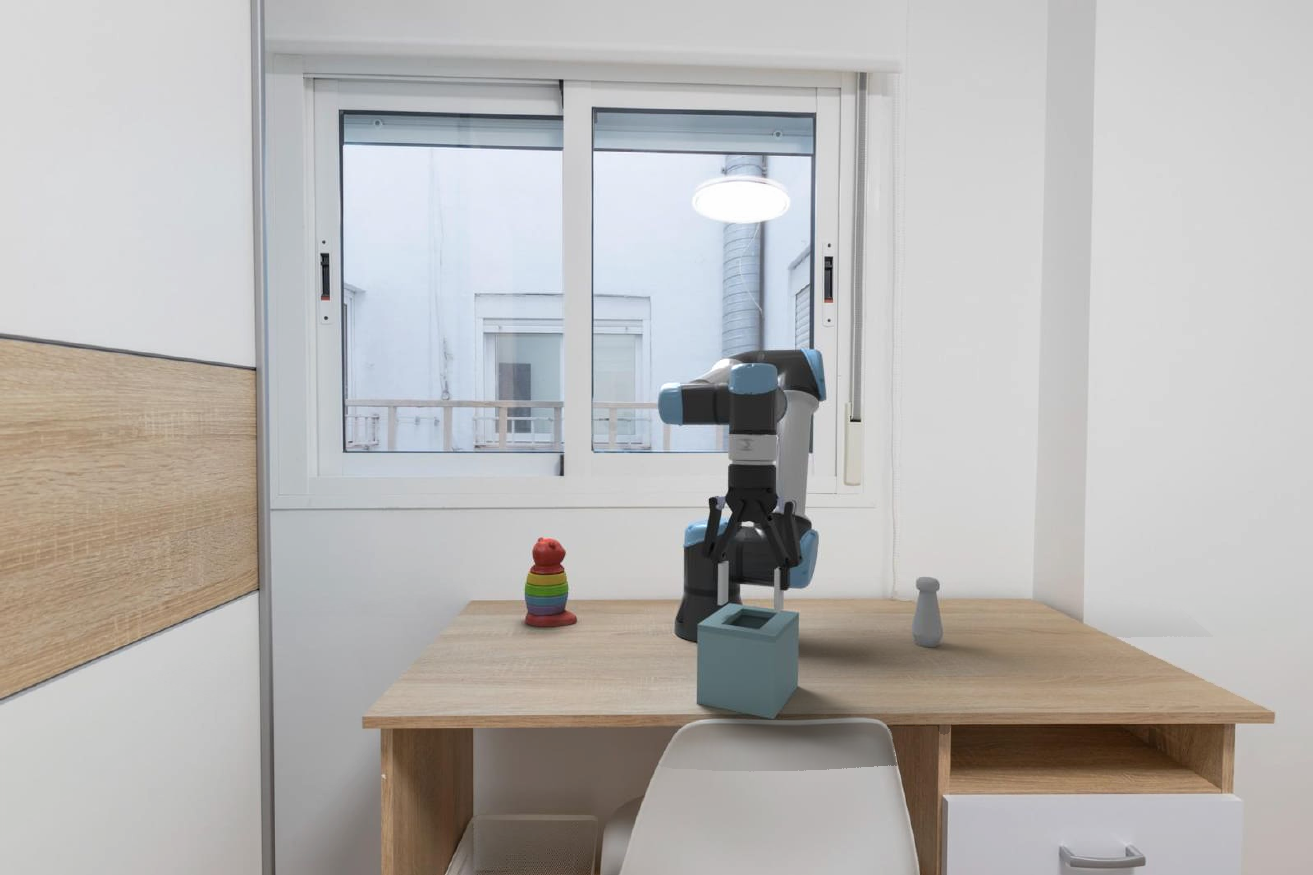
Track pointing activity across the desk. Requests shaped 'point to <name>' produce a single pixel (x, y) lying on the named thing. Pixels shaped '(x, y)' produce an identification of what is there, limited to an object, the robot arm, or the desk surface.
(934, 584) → the salt shaker
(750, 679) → the coin box
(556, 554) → the stacking bear
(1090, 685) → the desk surface
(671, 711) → the desk surface
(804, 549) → the robot arm
